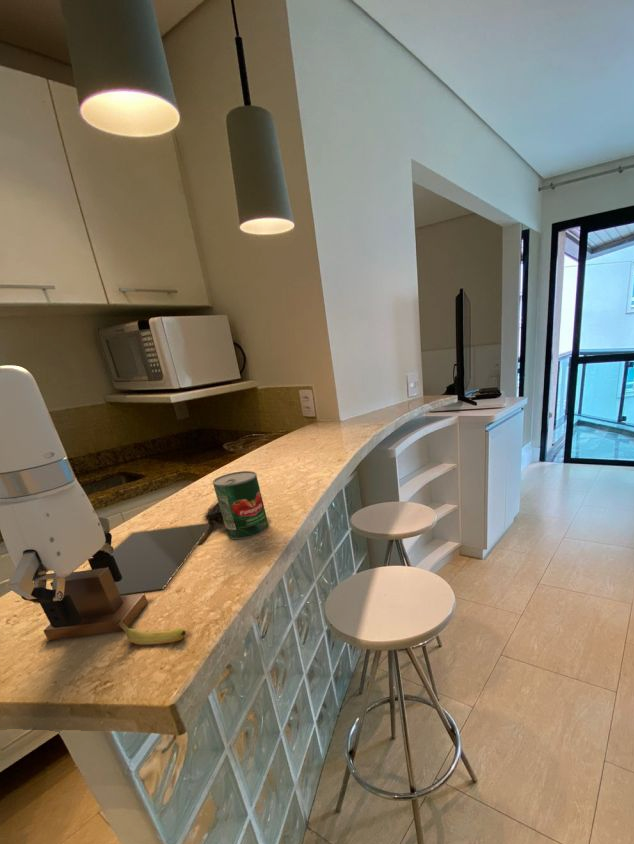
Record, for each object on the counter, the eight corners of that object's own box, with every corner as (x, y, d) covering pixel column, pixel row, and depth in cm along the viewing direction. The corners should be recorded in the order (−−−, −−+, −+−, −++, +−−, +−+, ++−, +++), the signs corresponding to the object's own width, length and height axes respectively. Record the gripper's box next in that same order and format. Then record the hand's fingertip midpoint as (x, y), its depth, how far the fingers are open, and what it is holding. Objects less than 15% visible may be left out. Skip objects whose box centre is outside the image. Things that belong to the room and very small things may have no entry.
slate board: (56, 608, 61) (53, 603, 60) (134, 537, 83) (132, 533, 82) (165, 594, 61) (163, 588, 61) (213, 527, 83) (212, 522, 83)
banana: (122, 651, 50) (110, 625, 48) (131, 642, 51) (119, 616, 50) (185, 648, 49) (175, 621, 47) (192, 638, 51) (183, 612, 49)
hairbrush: (246, 475, 105) (241, 503, 82) (250, 489, 107) (245, 520, 84) (213, 481, 104) (198, 512, 81) (217, 495, 105) (203, 529, 82)
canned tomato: (240, 522, 84) (227, 471, 80) (275, 521, 82) (263, 469, 78) (219, 540, 77) (203, 485, 73) (257, 540, 75) (243, 484, 71)
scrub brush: (50, 645, 52) (22, 593, 49) (79, 616, 58) (55, 568, 55) (129, 634, 53) (106, 582, 50) (150, 607, 58) (130, 558, 55)
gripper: (51, 463, 55) (99, 571, 62) (-69, 512, 39) (12, 651, 46) (107, 456, 55) (149, 565, 62) (11, 502, 39) (80, 642, 46)
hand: (91, 601), depth 54 cm, fingers open, 9 cm apart
